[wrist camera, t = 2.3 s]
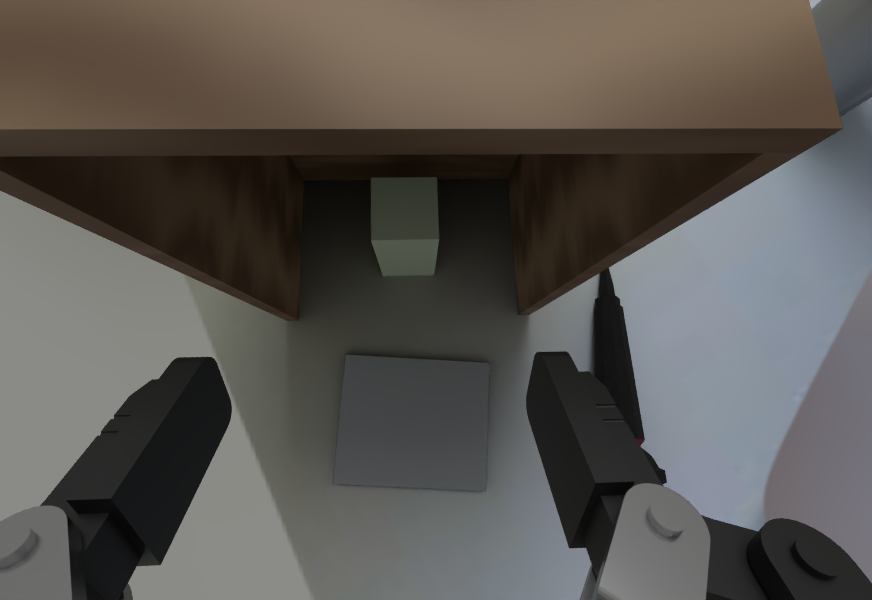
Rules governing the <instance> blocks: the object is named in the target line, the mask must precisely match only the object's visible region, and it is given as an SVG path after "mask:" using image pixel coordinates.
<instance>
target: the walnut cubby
mask: <svg viewBox="0 0 872 600" xmlns="http://www.w3.org/2000/svg"><path fill="white" fill-rule="evenodd" d="M841 129H843V126H842V122H841V118H840V115H839V111H838V107H837V104H836V100H835V96H834V92H833V89H832V85H831V81H830V77H829V74H828V70H827V66H826V63H825V59H824V55H823V51H822V48H821V44H820V40H819V36H818V33H817V29H816V25H815V22H814V18H813V14H812V10H811V7H810V3H809V0H0V191H2V192H5V193H7V194H9V195H11V196H14V197H16V198H18V199H20V200H22V201H24V202H27V203H29V204H31V205H33V206H36V207H38V208H40V209H42V210H44V211H47V212H49V213H51V214H53V215H55V216H58V217H60V218H62V219H64V220H66V221H69V222H71V223H73V224H75V225H77V226H80V227H82V228H84V229H86V230H88V231H91V232H93V233H95V234H97V235H99V236H102V237H104V238H106V239H108V240H110V241H113V242H115V243H117V244H119V245H121V246H124V247H126V248H128V249H130V250H132V251H135V252H137V253H139V254H141V255H143V256H146V257H148V258H150V259H152V260H154V261H157V262H159V263H161V264H163V265H166V266H168V267H170V268H172V269H174V270H177V271H179V272H181V273H183V274H185V275H187V276H190V277H192V278H194V279H196V280H198V281H201V282H203V283H205V284H207V285H209V286H212V287H214V288H216V289H218V290H220V291H223V292H225V293H227V294H229V295H231V296H234V297H236V298H238V299H240V300H242V301H245V302H247V303H249V304H251V305H253V306H256V307H258V308H260V309H262V310H264V311H267V312H269V313H271V314H273V315H275V316H278V317H280V318H282V319H284V320H286V321H287V320H298V318H299V292H300V266H301V240H302V214H303V187H304V180H371V178H404V177H437V179H508V183H509V196H510V210H511V223H512V236H513V250H514V263H515V276H516V290H517V303H518V315H529V314H531V313H533V312H535V311H536V310H538V309H540V308H541V307H543V306H545V305H546V304H548V303H550V302H551V301H553V300H555V299H557V298H558V297H560V296H562V295H563V294H565V293H567V292H568V291H570V290H572V289H573V288H575V287H577V286H578V285H580V284H582V283H583V282H585V281H587V280H589V279H590V278H592V277H594V276H595V275H597V274H599V273H600V272H602V271H604V270H605V269H607V268H609V267H610V266H612V265H614V264H615V263H617V262H619V261H621V260H622V259H624V258H626V257H627V256H629V255H631V254H632V253H634V252H636V251H637V250H639V249H641V248H642V247H644V246H646V245H647V244H649V243H651V242H653V241H654V240H656V239H658V238H659V237H661V236H663V235H664V234H666V233H668V232H669V231H671V230H673V229H674V228H676V227H678V226H679V225H681V224H683V223H685V222H686V221H688V220H690V219H691V218H693V217H695V216H696V215H698V214H700V213H701V212H703V211H705V210H706V209H708V208H710V207H711V206H713V205H715V204H717V203H718V202H720V201H722V200H723V199H725V198H727V197H728V196H730V195H732V194H733V193H735V192H737V191H738V190H740V189H742V188H743V187H745V186H747V185H749V184H750V183H752V182H754V181H755V180H757V179H759V178H760V177H762V176H764V175H765V174H767V173H769V172H770V171H772V170H774V169H775V168H777V167H779V166H781V165H782V164H784V163H786V162H787V161H789V160H791V159H792V158H794V157H796V156H797V155H799V154H801V153H802V152H804V151H806V150H807V149H809V148H811V147H813V146H814V145H816V144H818V143H819V142H821V141H823V140H824V139H826V138H828V137H829V136H831V135H833V134H834V133H836V132H838V131H839V130H841Z"/></svg>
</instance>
